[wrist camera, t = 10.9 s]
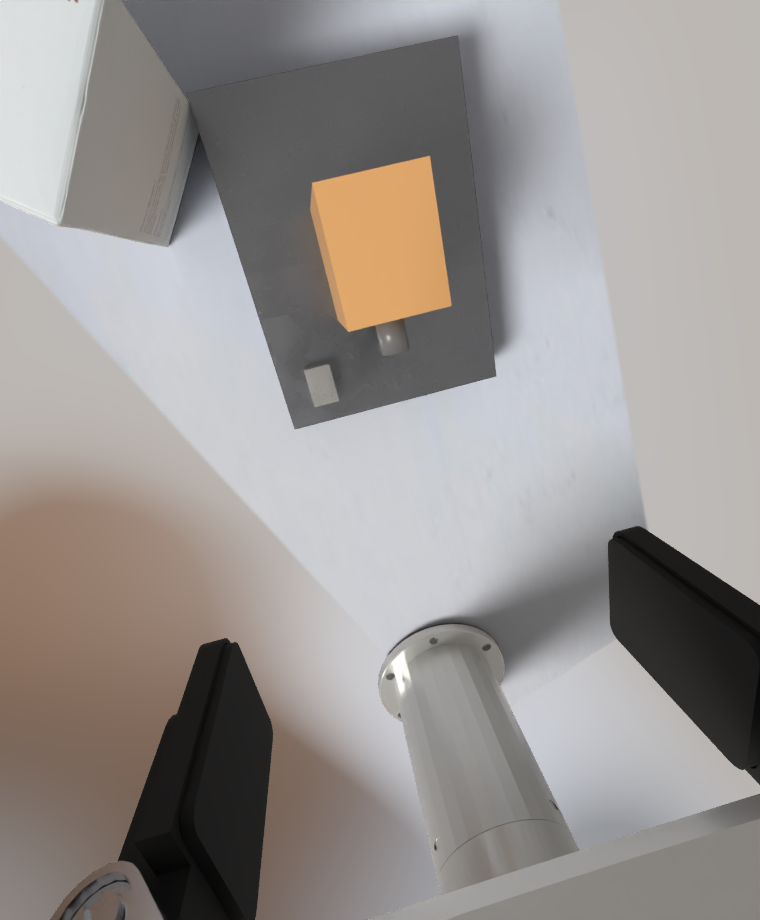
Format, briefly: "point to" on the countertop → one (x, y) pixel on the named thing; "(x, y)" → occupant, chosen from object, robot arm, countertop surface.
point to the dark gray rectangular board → (293, 233)
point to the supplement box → (90, 121)
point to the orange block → (382, 248)
